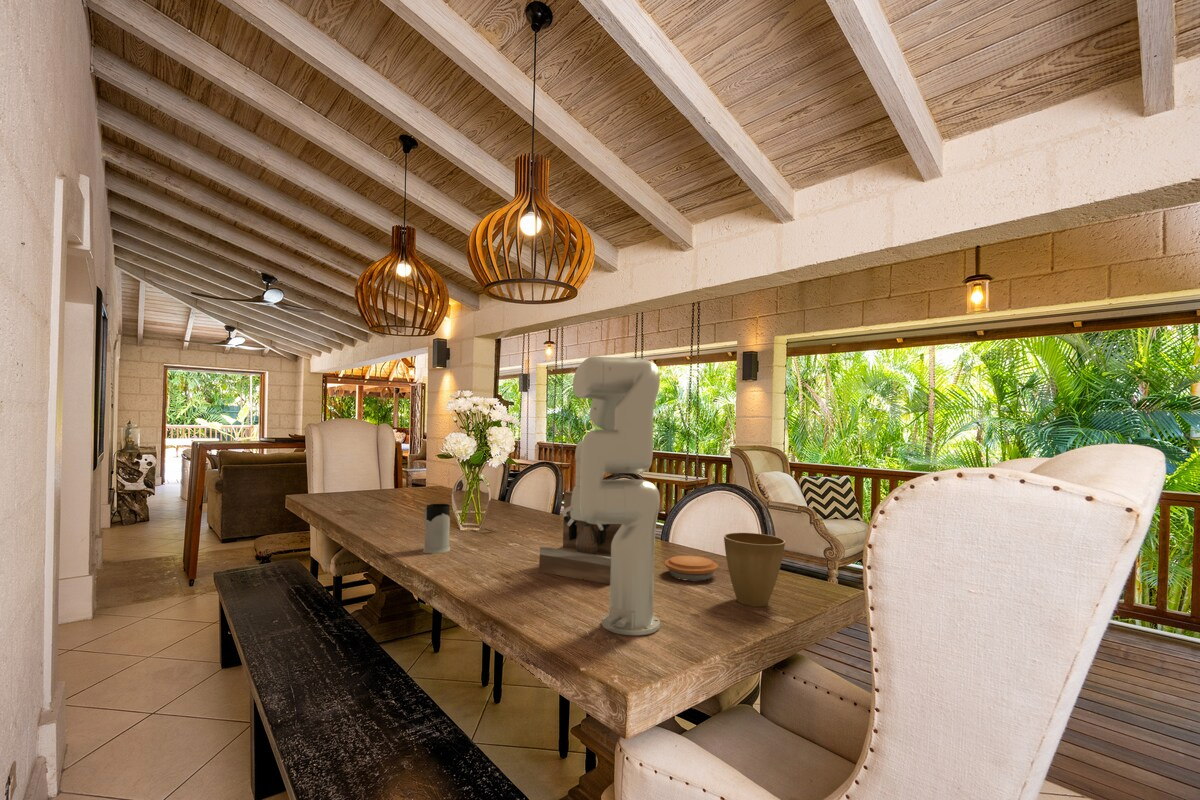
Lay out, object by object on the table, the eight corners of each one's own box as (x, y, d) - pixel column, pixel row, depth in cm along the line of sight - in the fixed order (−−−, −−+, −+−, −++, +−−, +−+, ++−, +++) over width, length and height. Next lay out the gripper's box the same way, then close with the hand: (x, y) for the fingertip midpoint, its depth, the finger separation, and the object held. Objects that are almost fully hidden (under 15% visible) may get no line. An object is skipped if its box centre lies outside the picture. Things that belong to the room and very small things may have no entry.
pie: (673, 566, 174) (674, 550, 174) (723, 573, 167) (723, 556, 167) (656, 578, 160) (657, 561, 160) (710, 586, 153) (710, 568, 153)
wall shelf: (611, 584, 152) (613, 503, 153) (539, 571, 164) (541, 496, 165) (634, 573, 165) (636, 497, 166) (565, 561, 177) (567, 491, 178)
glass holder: (429, 554, 181) (431, 508, 182) (412, 546, 192) (413, 502, 192) (454, 551, 187) (456, 506, 188) (436, 543, 198) (437, 500, 198)
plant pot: (756, 616, 130) (757, 546, 131) (710, 598, 143) (711, 535, 143) (797, 605, 138) (797, 540, 139) (750, 589, 151) (751, 530, 151)
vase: (593, 552, 169) (594, 522, 169) (602, 557, 162) (603, 527, 163) (572, 553, 166) (572, 523, 166) (580, 559, 160) (580, 528, 160)
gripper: (620, 483, 164) (618, 542, 164) (570, 479, 173) (568, 535, 172) (608, 486, 158) (606, 547, 157) (556, 481, 166) (555, 539, 165)
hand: (586, 541), depth 165 cm, fingers open, 9 cm apart
